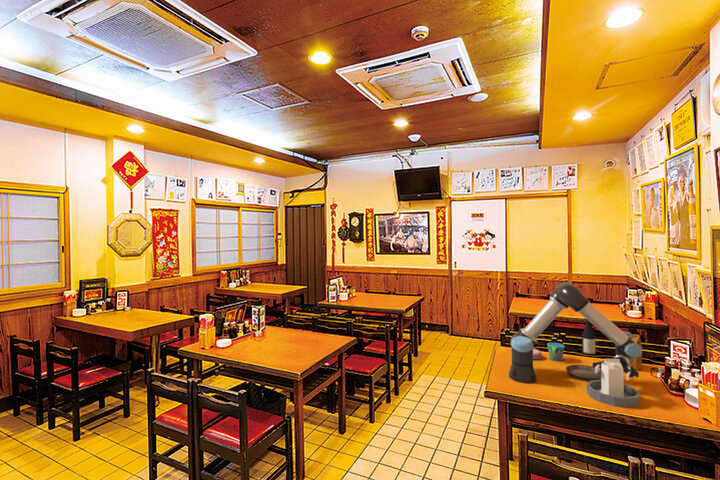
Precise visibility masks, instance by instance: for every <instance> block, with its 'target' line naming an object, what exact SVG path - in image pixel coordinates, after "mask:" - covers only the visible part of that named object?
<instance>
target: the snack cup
mask: <svg viewBox="0 0 720 480" xmlns="http://www.w3.org/2000/svg"><path fill="white" fill-rule="evenodd" d="M565 349H566V346H565V345H564V344H562V343H559V342H548V343H547V350H548V355H549V358H550V360H551V361H552V360H553V361H557V362H561V361H562V360H563V358H564V351H565Z"/></svg>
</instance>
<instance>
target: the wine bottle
mask: <svg viewBox="0 0 720 480" xmlns="http://www.w3.org/2000/svg"><path fill="white" fill-rule="evenodd" d="M585 319H586V318H585ZM585 323H586V324H585V326H584V327H585V328H584V330H583V331H582V335H581V351H582V353H583V355H586V356H594V355H596V336H595V332H594V330H593V328H592V323H591V322H590V321H589V320H587V319H586V320H585Z"/></svg>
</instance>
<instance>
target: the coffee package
mask: <svg viewBox="0 0 720 480" xmlns="http://www.w3.org/2000/svg"><path fill="white" fill-rule="evenodd" d="M631 334H632V333H631ZM632 340H633V341H634V342H635V343H636V344H638V345H639V346H640V347H641V349H642V350H643V344H642V340H641V334H632ZM642 358H643V353H642V354H641V355H640V356H639V357H636V358H633V362H632V363H631V364H630V365H629V367H631V366H633V368H634V369H635V370H636V371H638V370H640V369H642V368H643V362H642V361H643V360H642Z"/></svg>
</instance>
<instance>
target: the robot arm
mask: <svg viewBox="0 0 720 480" xmlns="http://www.w3.org/2000/svg"><path fill="white" fill-rule="evenodd" d="M568 308H571V309H572V310H573V311H574V312H576V313H579V314H580V315H582V316H583V317H584V318H585V319H587V320H589V321H590V322H591V325H593V326H594V327H596V328H597V330H599V331H600V332H601V333H602V334H603V335H604V336H605V337H607V338H608V339H609V340H610V341H611V342H612V343H614V345H615V356H614V357H613V358H612V359H620V363H621V365H622V367H623V372H624V373H625V374H626V378H625V379H626V381H629V380H630V379H631V378H632V379H633V378H634V377H635V378H639V371H638V370H635V369H634V368H633V366H631V367H629V365H630V364H631V363H632V362H633V358H636V357H639V356H640V355H641V354H642V355H643V348H642V349H641V347H640V346H639V345H638V344H636V343H635V342H634V341H633V340H632V333H631V332H629V331H623V330H621V329H620V328H619V327H618V326H617V325H616V324H615V323H614V322H612V321H611V319H609V318H608V317H606V315H604V314H603V313H602V312H600V311H599V310H598V309H597V308H596V307H595V306H593V304H591V303H590V299H588V298H587V297H586V296H585V295H584V294H583V292H582V291H581V290H580V289H579V288H578V287H577V286H576V285H574V284H573V283H571V282H566V281H564V282H563V281H562V282H561V283H558V284H557V285H556V286H555V288H554V290H553V292H552V293H551V294H550V295H549V300H548V301H547V302H546V304H545V305H544V306H543V307H542V308H541V309H540V311H539V312H538V313H537V314H536V315H535V316H534V317H533V319H531V320H530V322H529V323H528V324H527V325H526V326H525V327H524V328H520V329H519V330H518V331H517V332H516V333H514V334H513V335H511V338H510V347H511V365H510V368H509V371H508V378H509V379H510V380H513V381H515V382H519V383H525V384H529V383H531V384H532V383H535V382H537V377H538V376H537V374H536V371H535V368H534V359H533V349H534V347H535V345H536V343H538V339H537V338H538V337H540V335H541V334H542V333H543V332H544V330H546V329H547V327H548V326H549V325H550V324H551V323H552V322H553V321H554V319H556V317H557V316H558V315H559V314H560V313H561V312H562V311H563V310H567V309H568ZM604 361H605V360H602V361H595V362H592V365H591V366H592V367H593V368H594V369H595V373H597V372H598V371H599V370H600V369H601V364H602V363H603V362H604Z"/></svg>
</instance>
